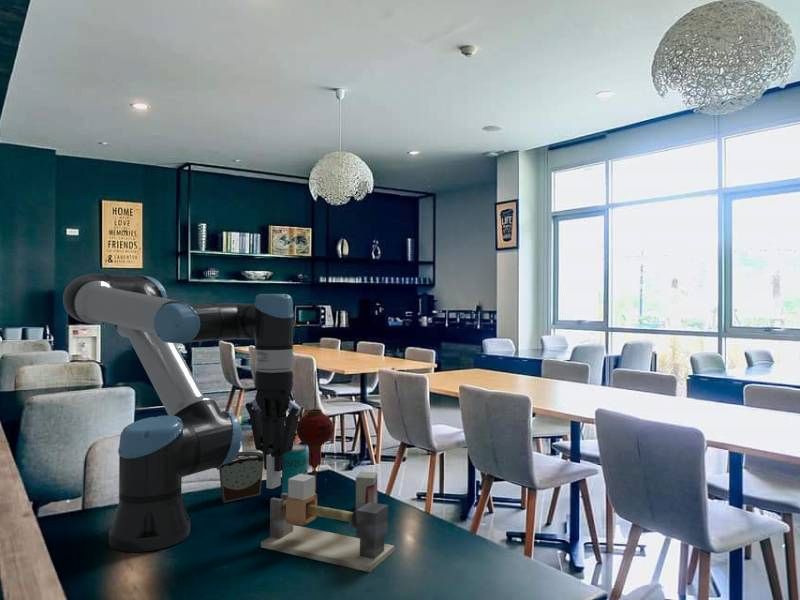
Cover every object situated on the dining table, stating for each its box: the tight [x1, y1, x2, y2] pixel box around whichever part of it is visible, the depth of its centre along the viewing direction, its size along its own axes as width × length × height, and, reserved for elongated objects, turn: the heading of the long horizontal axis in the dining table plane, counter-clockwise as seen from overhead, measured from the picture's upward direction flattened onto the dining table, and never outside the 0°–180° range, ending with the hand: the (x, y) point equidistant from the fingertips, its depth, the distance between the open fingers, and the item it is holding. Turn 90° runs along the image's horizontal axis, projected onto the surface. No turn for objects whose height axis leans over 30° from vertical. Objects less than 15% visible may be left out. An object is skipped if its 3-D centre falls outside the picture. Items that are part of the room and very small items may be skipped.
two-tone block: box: [286, 474, 318, 527], centre depth 117 cm, size 4×5×8 cm
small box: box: [355, 471, 378, 509], centre depth 137 cm, size 5×4×8 cm
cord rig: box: [260, 492, 396, 573], centre depth 114 cm, size 24×10×10 cm, turn 64°
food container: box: [215, 451, 264, 504], centre depth 146 cm, size 12×6×10 cm, turn 130°
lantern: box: [296, 370, 334, 490], centre depth 151 cm, size 10×10×30 cm
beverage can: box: [281, 443, 309, 494], centre depth 133 cm, size 6×6×15 cm
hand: (273, 486), depth 120 cm, fingers closed
